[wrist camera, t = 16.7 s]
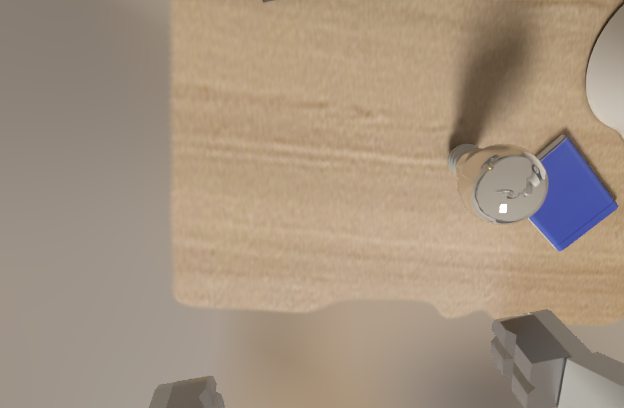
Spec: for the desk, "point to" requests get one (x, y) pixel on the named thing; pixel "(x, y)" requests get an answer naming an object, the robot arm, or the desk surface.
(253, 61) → the desk surface
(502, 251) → the desk surface
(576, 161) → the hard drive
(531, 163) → the light bulb
